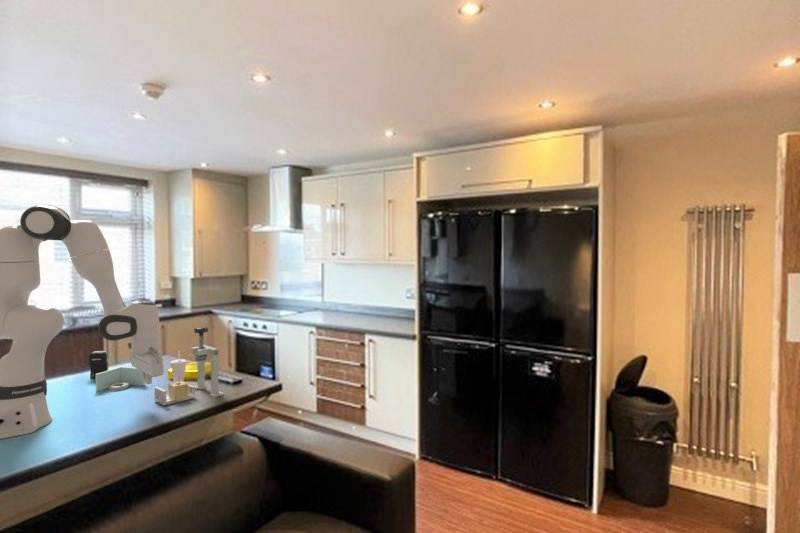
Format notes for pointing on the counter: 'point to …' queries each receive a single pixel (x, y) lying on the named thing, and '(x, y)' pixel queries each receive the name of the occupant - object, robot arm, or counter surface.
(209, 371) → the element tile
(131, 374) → the l-shaped corner panel
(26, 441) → the counter surface
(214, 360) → the press frame
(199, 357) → the ram
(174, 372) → the smoothie
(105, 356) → the black backpack
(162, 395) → the bed
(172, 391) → the tan wooden cube
